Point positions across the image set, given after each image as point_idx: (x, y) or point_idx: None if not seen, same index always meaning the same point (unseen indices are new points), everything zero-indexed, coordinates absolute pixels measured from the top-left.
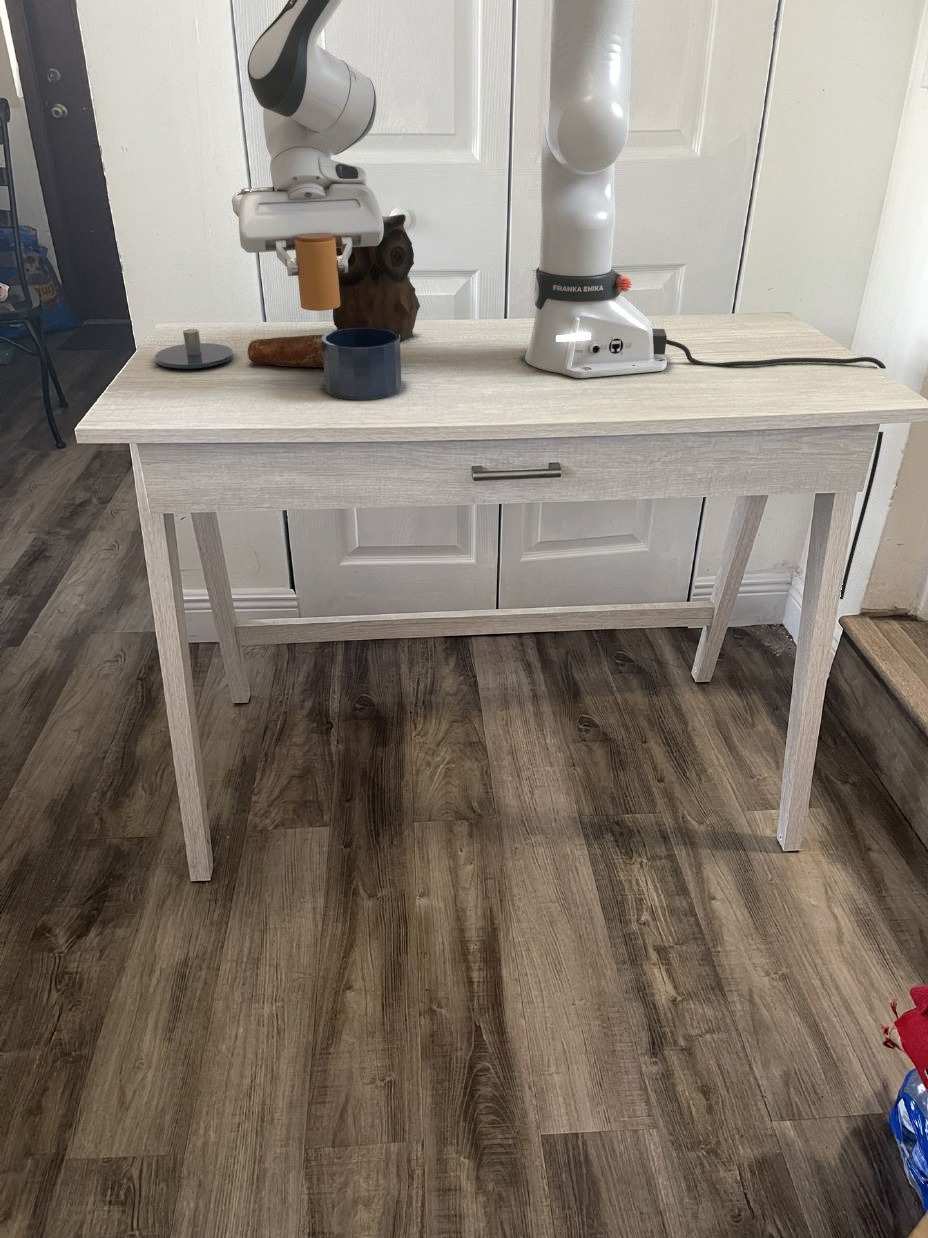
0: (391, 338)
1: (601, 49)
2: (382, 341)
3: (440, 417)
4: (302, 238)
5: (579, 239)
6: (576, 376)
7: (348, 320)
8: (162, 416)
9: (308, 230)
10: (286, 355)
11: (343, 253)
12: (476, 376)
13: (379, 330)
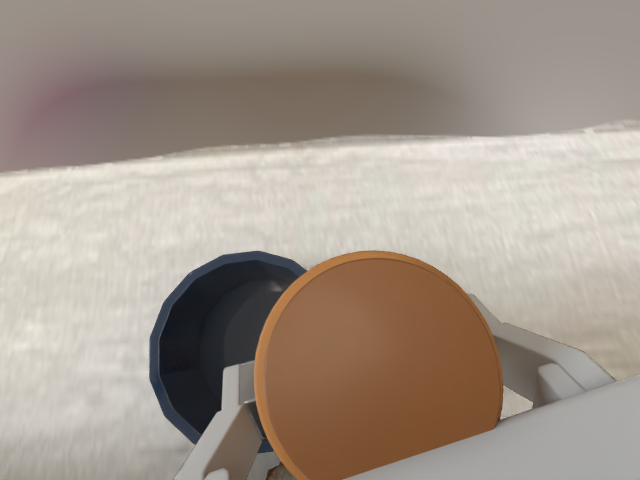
0: (176, 397)
1: None
2: (205, 421)
3: (132, 198)
4: (434, 273)
5: None
6: None
7: None
8: (574, 184)
9: (447, 466)
10: None
11: (234, 411)
12: (36, 435)
13: (203, 432)
